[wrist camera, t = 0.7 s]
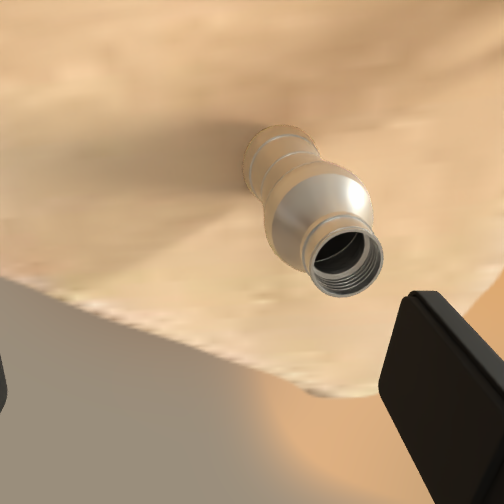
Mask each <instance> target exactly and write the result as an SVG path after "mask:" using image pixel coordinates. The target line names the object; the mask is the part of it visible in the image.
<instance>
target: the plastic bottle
mask: <svg viewBox="0 0 504 504" xmlns="http://www.w3.org/2000/svg"><path fill="white" fill-rule="evenodd" d="M243 175H244V180H245V182H246V185H247V187H248V188H249V190H250V191H251V193H252V194H253V195H254V196H255V197H256V198H257V199H258V200H259V201H261V202H262V204H263V208H264V226H265V232H266V237H267V240H268V242H269V245H270V247H271V248H272V250H273V251H274V253H275V254H276V255H277V256H278V257H279V258H280V259H281V260H282V261H283V262H285V263H286V264H288V265H289V266H291V267H292V268H294V269H296V270H299V271H301V272H304V273H308V275H309V276H310V277H311V279H312V281H313V282H314V284H315V285H316V286H317V288H318V289H320V290H321V291H322V292H323V293H325V294H327V295H330V296H332V297H339V298H340V297H349V296H353V295H356V294H358V293H360V292H362V291H364V290H365V289H367V288H368V287H369V286H370V285H371V284H372V283H373V282H374V281H375V280H376V278H377V277H378V275H379V273H380V271H381V268H382V265H383V250H382V246H381V244H380V242H379V240H378V238H377V237H376V236H375V235H374V233H373V231H372V226H373V220H374V219H373V208H372V203H371V199H370V195H369V193H368V191H367V189H366V187H365V185H364V184H363V182H362V181H361V180H360V179H359V178H358V177H357V176H356V175H355V174H353V173H352V172H351V171H349V170H347V169H346V168H344V167H341V166H339V165H337V164H334V163H331V162H328V161H325V160H324V159H322V158H321V156H320V153H319V151H318V149H317V147H316V145H315V143H314V141H313V140H312V139H311V137H310V136H309V135H308V134H307V133H305V132H304V131H303V130H301V129H299V128H297V127H294V126H289V125H275V126H271V127H268V128H266V129H264V130H262V131H261V132H259V133H258V134H257V135H256V136H255V137H254V138H253V139H252V140H251V142H250V143H249V145H248V147H247V149H246V152H245V155H244V160H243Z"/></svg>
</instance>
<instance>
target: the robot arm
mask: <svg viewBox="0 0 504 504" xmlns="http://www.w3.org/2000/svg"><path fill="white" fill-rule="evenodd" d="M378 388H379V394H380V396H381V398H382V401H383V402H384V404H385V406H386V408H387V410H388V412H389V414H390V416H391V418H392V420H393V422H394V424H395V426H396V428H397V430H398V432H399V434H400V436H401V438H402V440H403V442H404V443H405V446H406V448H407V450H408V452H409V454H410V455H411V457H412V459H413V461H414V463H415V465H416V467H417V469H418V471H419V473H420V475H421V477H422V479H423V481H424V483H425V485H426V487H427V489H428V491H429V493H430V495H431V497H432V499H433V501H434V503H435V504H504V361H503V360H502V359H501V358H500V357H499V356H498V355H497V354H496V353H495V352H494V350H493V349H492V348H491V347H490V346H489V345H488V344H487V343H486V342H485V341H484V340H483V339H482V338H481V337H480V336H479V335H478V333H477V332H476V331H475V330H474V329H473V328H472V327H471V326H470V325H469V324H468V323H467V322H466V321H465V320H464V319H463V317H462V316H461V315H460V314H459V313H458V312H457V311H456V310H455V309H454V308H453V307H452V306H451V305H450V304H449V303H448V302H447V300H446V299H445V298H444V297H443V296H442V295H441V294H440V293H439V292H437V291H412V292H410V294H409V295H408V296H406V297H404V298H403V299H402V301H401V304H400V307H399V311H398V315H397V318H396V322H395V325H394V329H393V332H392V336H391V339H390V343H389V346H388V350H387V353H386V357H385V361H384V364H383V368H382V371H381V375H380V378H379V383H378ZM6 398H7V384H6V379H5V375H4V370H3V366H2V361H1V356H0V412H1V411H2V409H3V407H4V405H5V402H6Z"/></svg>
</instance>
